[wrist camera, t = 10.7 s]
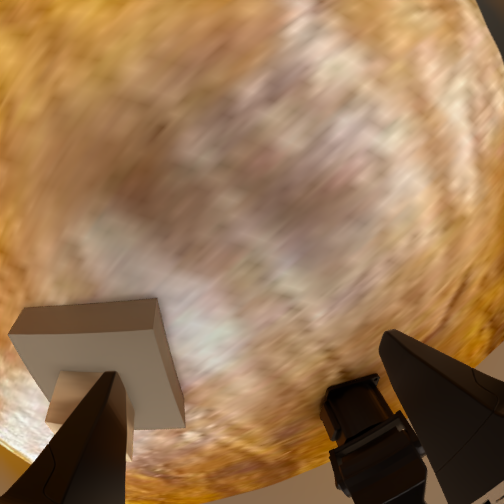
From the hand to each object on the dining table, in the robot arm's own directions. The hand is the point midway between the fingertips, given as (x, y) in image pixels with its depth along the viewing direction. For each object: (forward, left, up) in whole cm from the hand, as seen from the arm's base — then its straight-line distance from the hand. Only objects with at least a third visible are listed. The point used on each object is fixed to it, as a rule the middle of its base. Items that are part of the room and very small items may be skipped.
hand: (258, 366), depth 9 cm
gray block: (+11, +11, -12) cm, 20 cm away
